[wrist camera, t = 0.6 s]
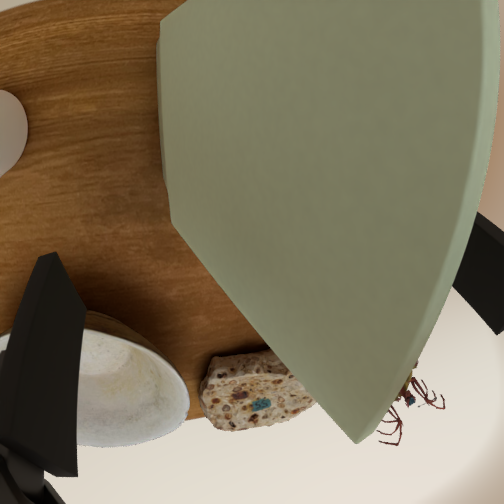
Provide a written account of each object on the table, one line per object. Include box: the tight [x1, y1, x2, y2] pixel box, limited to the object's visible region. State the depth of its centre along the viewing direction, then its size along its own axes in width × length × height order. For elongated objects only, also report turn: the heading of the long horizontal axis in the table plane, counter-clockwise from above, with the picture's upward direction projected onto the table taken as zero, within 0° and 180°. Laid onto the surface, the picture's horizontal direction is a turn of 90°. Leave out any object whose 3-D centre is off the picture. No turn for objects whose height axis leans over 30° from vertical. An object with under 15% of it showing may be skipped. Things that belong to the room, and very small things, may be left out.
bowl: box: [0, 310, 190, 447], centre depth 30 cm, size 24×24×10 cm
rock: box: [198, 348, 317, 432], centre depth 44 cm, size 21×14×10 cm
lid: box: [160, 0, 500, 444], centre depth 11 cm, size 16×13×1 cm
